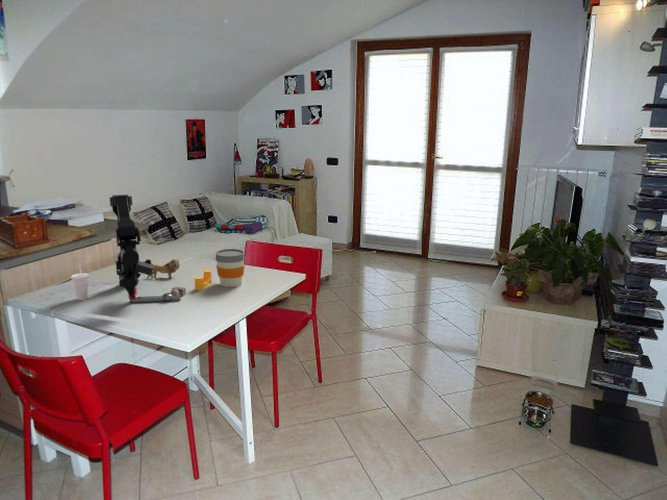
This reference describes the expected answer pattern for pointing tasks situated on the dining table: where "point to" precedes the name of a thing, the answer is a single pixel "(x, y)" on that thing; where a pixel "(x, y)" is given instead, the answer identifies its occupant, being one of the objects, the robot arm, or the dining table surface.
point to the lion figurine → (166, 268)
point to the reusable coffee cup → (230, 267)
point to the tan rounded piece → (175, 292)
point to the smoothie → (81, 284)
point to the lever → (154, 297)
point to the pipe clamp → (203, 280)
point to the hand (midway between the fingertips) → (133, 295)
